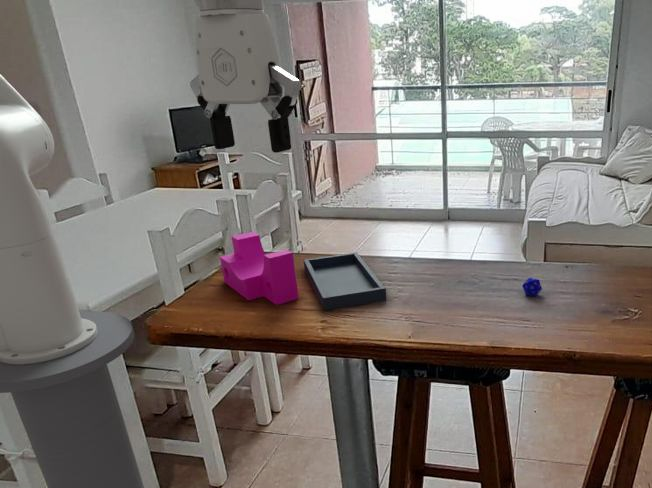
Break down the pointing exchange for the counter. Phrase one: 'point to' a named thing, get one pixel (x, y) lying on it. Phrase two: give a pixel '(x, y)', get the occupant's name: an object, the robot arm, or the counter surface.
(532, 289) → the die
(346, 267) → the rectangular tray
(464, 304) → the counter surface
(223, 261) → the toy block
